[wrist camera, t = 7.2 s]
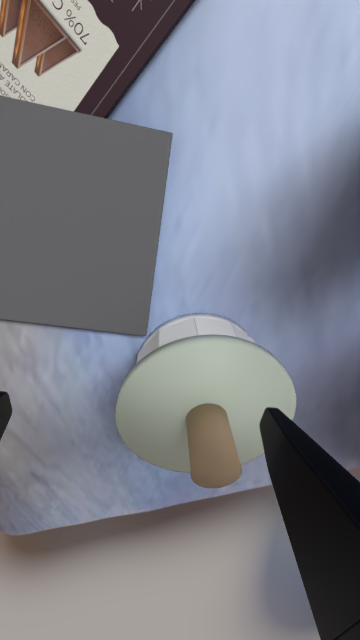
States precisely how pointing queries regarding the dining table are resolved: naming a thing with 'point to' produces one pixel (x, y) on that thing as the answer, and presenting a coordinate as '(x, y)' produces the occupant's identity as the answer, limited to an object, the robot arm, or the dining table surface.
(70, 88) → the chocolate bar
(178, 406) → the lid
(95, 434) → the dining table surface
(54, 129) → the mat
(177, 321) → the bowl
